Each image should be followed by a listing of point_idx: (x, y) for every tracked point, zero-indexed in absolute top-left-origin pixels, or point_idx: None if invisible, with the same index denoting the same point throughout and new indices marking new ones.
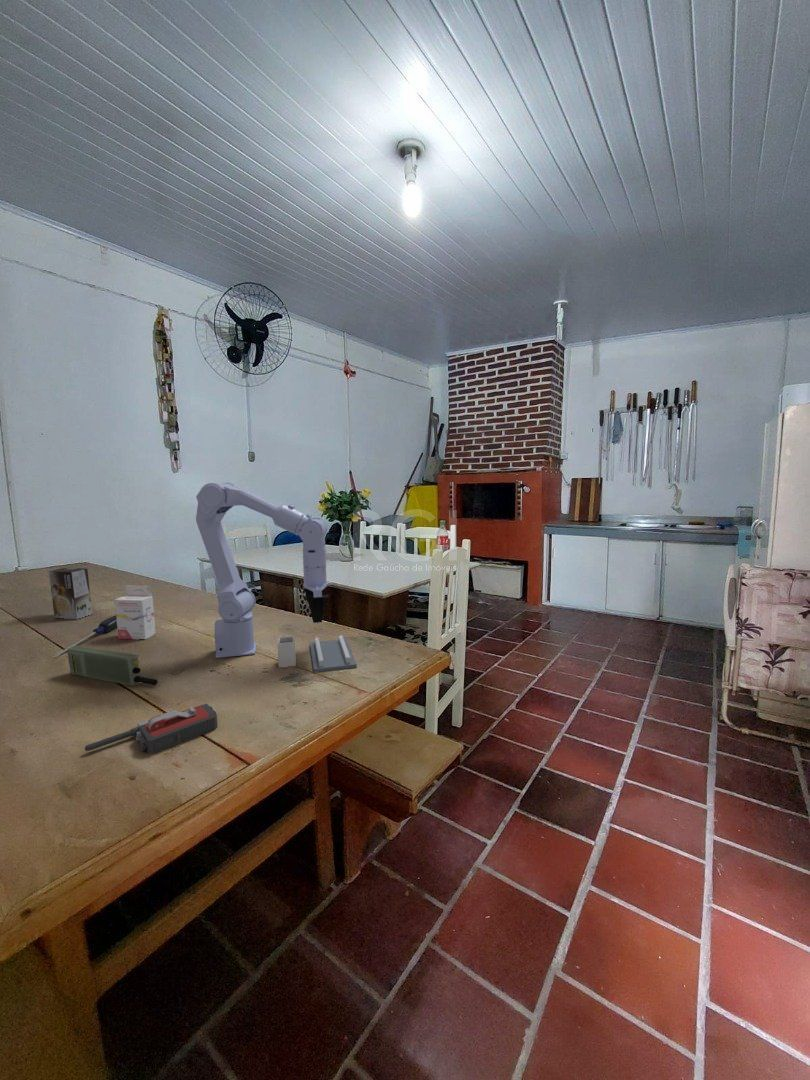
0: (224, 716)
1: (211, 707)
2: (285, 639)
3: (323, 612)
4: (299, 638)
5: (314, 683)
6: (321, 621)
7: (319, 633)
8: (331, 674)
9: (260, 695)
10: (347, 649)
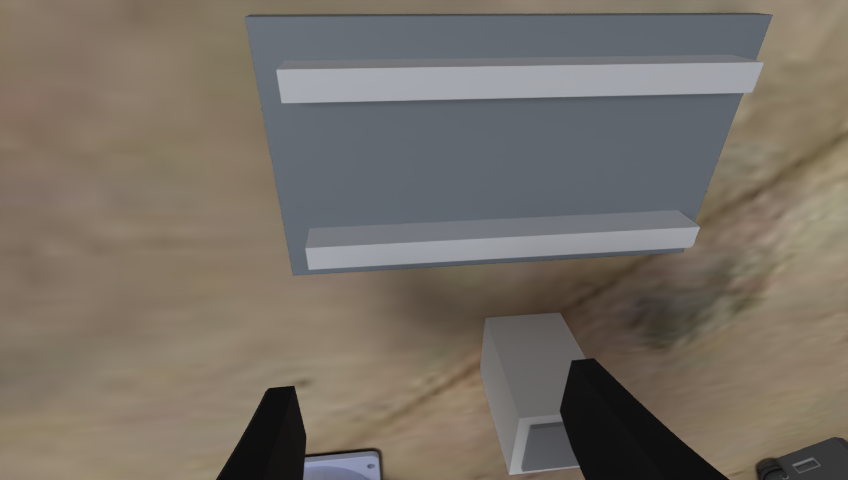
0: (795, 435)
1: (778, 475)
2: (560, 450)
3: (672, 433)
4: (165, 317)
5: (778, 240)
6: (598, 364)
7: (48, 210)
8: (743, 167)
9: (740, 386)
10: (491, 42)
